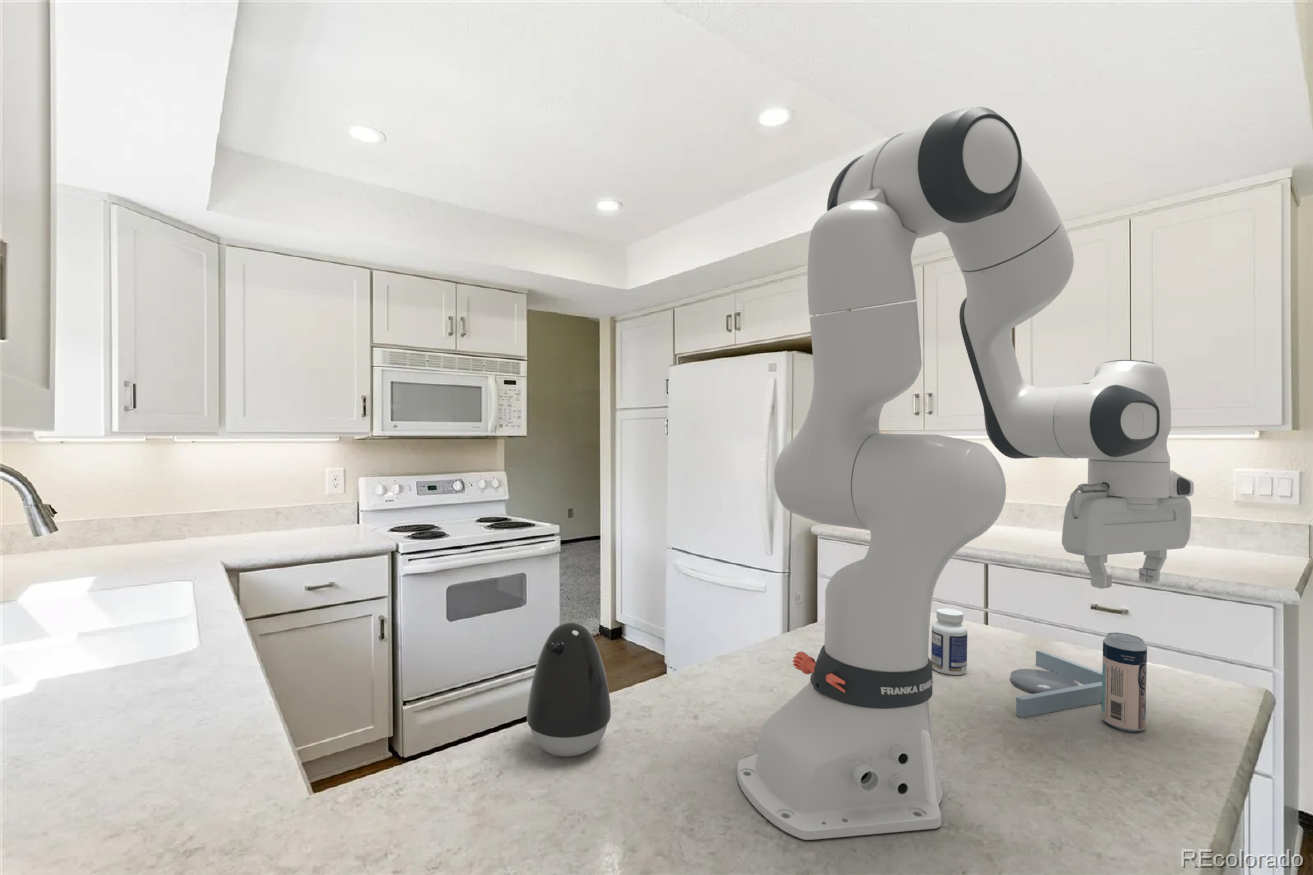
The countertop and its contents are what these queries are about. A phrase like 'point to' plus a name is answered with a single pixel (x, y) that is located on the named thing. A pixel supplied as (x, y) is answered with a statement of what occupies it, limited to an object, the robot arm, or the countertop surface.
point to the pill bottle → (949, 643)
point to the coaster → (1039, 680)
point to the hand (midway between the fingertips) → (1125, 584)
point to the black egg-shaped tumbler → (569, 693)
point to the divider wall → (1062, 697)
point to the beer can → (1124, 682)
